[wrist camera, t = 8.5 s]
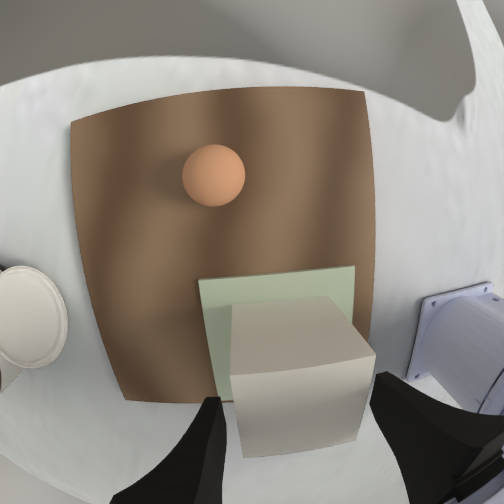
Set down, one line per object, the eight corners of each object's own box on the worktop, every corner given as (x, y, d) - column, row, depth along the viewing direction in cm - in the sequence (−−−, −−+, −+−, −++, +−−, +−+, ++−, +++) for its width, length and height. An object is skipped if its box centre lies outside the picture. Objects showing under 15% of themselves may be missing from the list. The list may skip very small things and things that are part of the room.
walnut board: (357, 96, 14) (364, 91, 13) (356, 376, 19) (361, 383, 18) (78, 124, 14) (70, 121, 13) (129, 392, 18) (125, 399, 17)
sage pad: (353, 264, 16) (354, 266, 15) (343, 382, 18) (344, 385, 17) (198, 279, 15) (198, 280, 15) (219, 398, 17) (219, 400, 17)
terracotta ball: (242, 146, 14) (243, 136, 11) (246, 202, 15) (248, 205, 12) (186, 152, 14) (173, 143, 11) (190, 207, 14) (179, 211, 12)
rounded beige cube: (328, 295, 16) (376, 354, 9) (324, 370, 17) (355, 440, 11) (232, 304, 15) (229, 375, 9) (241, 380, 17) (243, 457, 10)
